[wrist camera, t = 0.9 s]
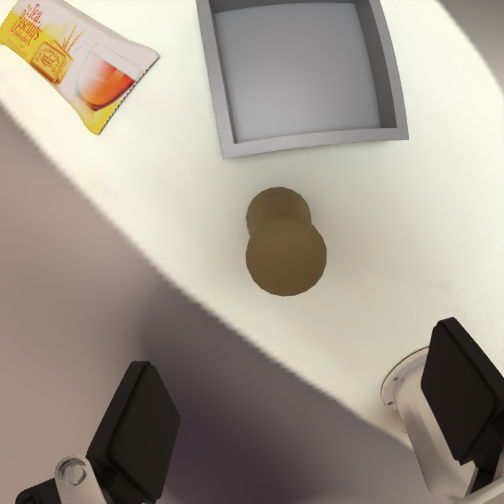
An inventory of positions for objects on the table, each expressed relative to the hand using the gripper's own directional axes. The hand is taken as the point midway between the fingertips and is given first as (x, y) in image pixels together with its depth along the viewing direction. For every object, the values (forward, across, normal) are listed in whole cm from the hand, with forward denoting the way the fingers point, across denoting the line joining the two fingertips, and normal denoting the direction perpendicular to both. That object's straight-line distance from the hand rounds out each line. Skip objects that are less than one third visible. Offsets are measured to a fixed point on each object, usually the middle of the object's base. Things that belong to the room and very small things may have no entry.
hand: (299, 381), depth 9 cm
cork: (+20, 0, 0) cm, 21 cm away
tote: (+20, -4, -14) cm, 25 cm away
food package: (+21, +20, -25) cm, 38 cm away
